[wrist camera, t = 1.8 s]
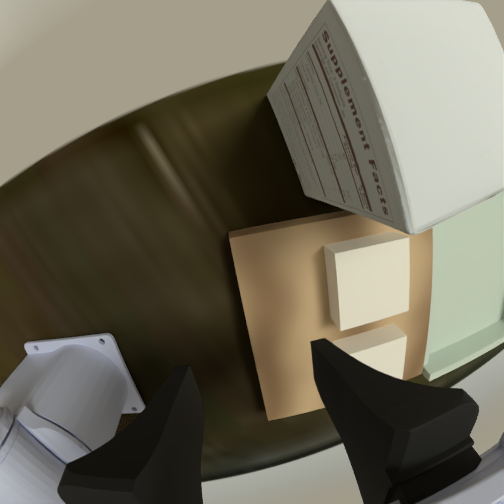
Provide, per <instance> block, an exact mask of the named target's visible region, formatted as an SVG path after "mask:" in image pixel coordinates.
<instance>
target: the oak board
mask: <svg viewBox="0 0 504 504" xmlns="http://www.w3.org/2000/svg"><path fill="white" fill-rule="evenodd" d="M390 231H395V232H397V233H400V234H402V235H405V236H407V237H409V250H410V287H409V311H406V312H403V313H400V314H397V315H394V316H391V317H387V318H384V319H381V320H378V321H374V322H371V323H367V324H364V325H361V326H357V327H354V328H350V329H346V330H343V331H340V330H339V328H338V327H337V325H336V324H335V323H334V321H333V320H332V318H331V317H330V306H329V294H328V283H327V273H326V263H325V254H324V245H326V244H331V243H336V242H341V241H346V240H351V239H356V238H361V237H365V236H370V235H375V234H380V233H385V232H390ZM229 240H230V245H231V250H232V255H233V260H234V265H235V270H236V275H237V279H238V284H239V289H240V294H241V299H242V303H243V308H244V313H245V318H246V322H247V327H248V332H249V336H250V341H251V345H252V350H253V355H254V359H255V364H256V368H257V373H258V377H259V382H260V386H261V391H262V395H263V399H264V404H265V408H266V413H267V417H268V421H270V420H275V419H279V418H284V417H288V416H293V415H297V414H301V413H305V412H309V411H313V410H317V409H321V408H324V407H325V406H324V404H323V402H322V400H321V398H320V395H319V392H318V389H317V387H316V384H315V381H314V375H313V364H312V353H311V344H310V341H314V340H318V339H322V338H326V339H327V340H329V341H330V342H332V341H335V340H339V339H342V338H346V337H350V336H353V335H357V334H360V333H363V332H367V331H370V330H373V329H377V328H380V327H383V326H386V325H389V324H393V323H394V324H395V325H396V326H397V327H398V328H400V329H401V330H402V331H403V332H404V333H405V334H406V335H407V342H406V353H405V362H404V370H403V378H402V380H408V379H410V378H413V377H415V376H417V375H420V374H422V372H423V366H424V359H425V353H426V345H427V337H428V328H429V319H430V307H431V293H432V270H433V227H432V228H430V229H428V230H425V231H424V232H422V233H419V234H416V235H409V234H406V233H404V232H402V231H400V230H397V229H394V228H392V227H389V226H387V225H384V224H382V223H379V222H377V221H374V220H372V219H369V218H366V217H364V216H361V215H358V214H356V213H353V212H350V211H347V210H343V211H337V212H331V213H326V214H320V215H315V216H309V217H304V218H298V219H293V220H287V221H282V222H277V223H271V224H266V225H261V226H256V227H250V228H245V229H240V230H235V231H230V232H229Z"/></svg>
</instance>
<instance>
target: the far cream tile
mask: <svg viewBox="0 0 504 504" xmlns="http://www.w3.org/2000/svg"><path fill="white" fill-rule="evenodd" d="M406 342H407V335H406V334H405V333H404V332H403V331H402V330H401V329H400V328H398V327H397V326H396V325H395V324H394V323H393V324H389V325H386V326H383V327H380V328H377V329H373V330H370V331H367V332H363V333H360V334H357V335H353V336H350V337H346V338H342V339H339V340H335V341H332V343H333V344H334V345H336V346H337V347H339V348H340V349H342V350H343V351H344V352H346V353H347V354H349V355H351V356H352V357H354V358H355V359H357V360H359V361H360V362H362V363H364V364H366V365H368V366H370V367H372V368H374V369H376V370H378V371H380V372H383V373H385V374H388V375H390V376H393V377H396V378H399V379H402V378H403V370H404V362H405V353H406Z"/></svg>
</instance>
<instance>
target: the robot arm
mask: <svg viewBox="0 0 504 504" xmlns="http://www.w3.org/2000/svg"><path fill="white" fill-rule="evenodd" d="M101 339H103V340H104V341H105V342H102V341H101ZM310 344H311V353H312V364H313V375H314V381H315V384H316V387H317V389H318V392H319V395H320V398H321V400H322V402H323V404H324V406H325V408H326V410H327V412H328V414H329V416H330V418H331V419H332V421H333V423H334V425H335V427H336V429H337V431H338V433H339V435H340V437H341V439H342V441H343V444H344V446H345V449H346V452H347V454H348V457H349V460H350V463H351V466H352V468H353V471H354V474H355V477H356V480H357V483H358V486H359V490H360V493H361V496H362V499H363V503H364V504H504V433H503V434H502V436H501V438H500V441H499V442H498V443H497V444H496V445H494V446H493V447H492V448H490V449H489V450H487V451H486V452H484V453H483V454H481V455H480V456H479V455H478V453H477V452H476V451H475V450H474V448H473V447H472V446H473V444H474V441H473V439H472V438H471V437H470V436H469V435H470V433H471V431H472V429H473V426H474V424H475V422H476V420H477V416H478V413H479V406H478V405H477V403H476V402H475V401H474V400H473V399H472V398H471V397H470V396H469V395H468V394H467V393H466V392H465V391H464V390H463V389H458V388H441V387H433V386H427V385H421V384H417V383H413V382H409V381H405V380H402V379H399V378H396V377H393V376H390V375H388V374H385V373H383V372H380V371H378V370H376V369H374V368H372V367H370V366H368V365H366V364H364V363H362V362H360V361H359V360H357V359H355V358H354V357H352V356H351V355H349V354H347V353H346V352H344V351H343V350H342V349H340V348H339V347H337V346H336V345H334V344H333V343H332V342H330V341H329V340H327V339H326V338H322V339H318V340H314V341H310ZM36 346H37V347H38V348H37V347H36ZM24 347H25V350H26V352H27V354H28V355H27V356H26V357H25V359H24V360H23V361H22V362H21V363H20V364H19V366H18V367H17V368H16V369H15V370H14V372H13V373H12V374H11V375H10V376H9V378H8V379H7V380H6V381H5V383H4V384H3V385H2V386H1V388H0V504H203V499H202V487H201V453H202V441H203V428H204V410H203V399H202V397H201V394H200V391H199V389H198V386H197V383H196V381H195V378H194V375H193V372H192V369H191V367H190V365H185V366H178V367H175V369H174V370H173V371H172V373H171V374H170V376H169V377H168V378H167V380H166V381H165V383H164V384H163V385H162V387H161V388H160V390H159V391H158V392H157V394H156V395H155V396H154V398H153V399H152V400H151V401H150V403H149V404H148V405H147V406H145V404H144V402H143V400H142V398H141V396H140V394H139V392H138V390H137V388H136V386H135V384H134V382H133V380H132V378H131V375H130V373H129V371H128V369H127V367H126V364H125V362H124V360H123V357H122V355H121V353H120V350H119V348H118V346H117V343H116V341H115V338H114V337H113V335H111V334H109V333H103V334H95V335H87V336H79V337H70V338H61V339H51V340H41V341H30V342H26V343H25V345H24ZM133 407H135V408H133ZM123 413H140V414H139V415H138V416H137V417H136V418H135V419H134V420H133V421H132V422H131V423H130V424H129V425H128V426H127V427H126V428H125V429H123V430H122V431H121V432H120V433H118V434H117V435H116V436H115V433H116V430H117V426H118V423H119V420H120V417H121V414H123ZM114 436H115V437H114Z"/></svg>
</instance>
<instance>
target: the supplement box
mask: <svg viewBox="0 0 504 504" xmlns="http://www.w3.org/2000/svg"><path fill="white" fill-rule="evenodd" d="M267 97H268V99H269V101H270V104H271V106H272V108H273V111H274V113H275V116H276V118H277V121H278V123H279V126H280V128H281V131H282V134H283V136H284V139H285V141H286V144H287V147H288V149H289V152H290V155H291V157H292V160H293V163H294V166H295V168H296V171H297V174H298V177H299V179H300V182H301V185H302V188H303V191H304V193H305V195H306V196H308V197H311V198H313V199H316V200H320V201H323V202H325V203H328V204H331V205H334V206H336V207H339V208H342V209H345V210H347V211H350V212H353V213H356V214H358V215H361V216H364V217H366V218H369V219H372V220H374V221H377V222H379V223H382V224H384V225H387V226H389V227H392V228H394V229H397V230H400V231H402V232H404V233H406V234H409V235H416V234H419V233H422V232H424V231H425V230H428V229H430V228H432V227H434V226H436V225H438V224H440V223H442V222H444V221H446V220H448V219H450V218H452V217H454V216H456V215H458V214H460V213H462V212H464V211H466V210H468V209H470V208H472V207H474V206H476V205H478V204H480V203H482V202H485V201H487V200H489V199H491V198H494V197H495V196H496V195H498V194H500V193H501V192H503V191H504V52H503V49H502V47H501V44H500V42H499V40H498V37H497V35H496V33H495V31H494V28H493V26H492V24H491V23H490V20H489V18H488V16H487V15H486V13H485V11H484V9H483V8H482V6H481V5H480V4H479V3H476V2H470V1H464V0H327V1H326V3H325V4H324V6H323V7H322V9H321V10H320V11H319V13H318V14H317V16H316V17H315V19H314V20H313V22H312V23H311V25H310V26H309V28H308V29H307V31H306V32H305V34H304V35H303V37H302V38H301V40H300V41H299V43H298V45H297V46H296V48H295V49H294V51H293V52H292V54H291V56H290V57H289V59H288V60H287V62H286V64H285V65H284V67H283V68H282V70H281V72H280V73H279V75H278V76H277V78H276V80H275V82H274V83H273V85H272V87H271V88H270V90H269V92H268V94H267Z"/></svg>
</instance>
